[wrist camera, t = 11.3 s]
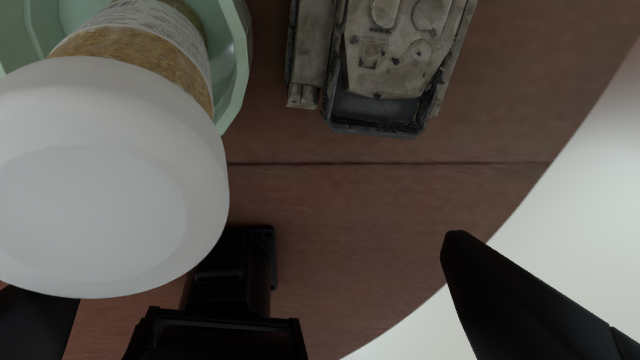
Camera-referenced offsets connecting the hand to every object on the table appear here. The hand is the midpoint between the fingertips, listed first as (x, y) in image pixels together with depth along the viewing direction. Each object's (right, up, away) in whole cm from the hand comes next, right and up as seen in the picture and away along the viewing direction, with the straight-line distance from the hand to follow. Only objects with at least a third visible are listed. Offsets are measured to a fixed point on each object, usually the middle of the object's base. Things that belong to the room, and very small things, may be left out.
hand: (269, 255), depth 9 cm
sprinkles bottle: (-6, +9, +8) cm, 13 cm away
